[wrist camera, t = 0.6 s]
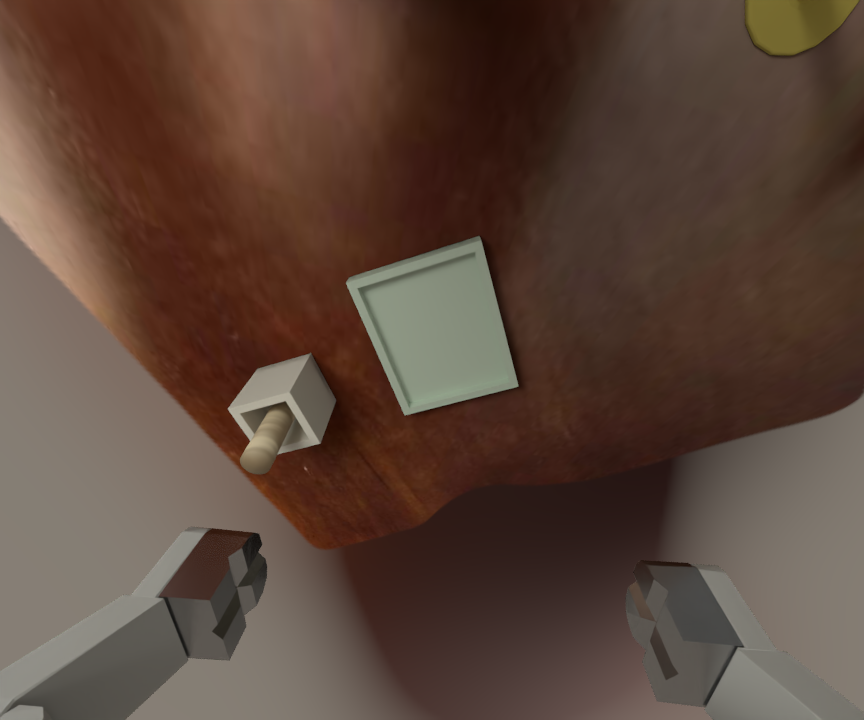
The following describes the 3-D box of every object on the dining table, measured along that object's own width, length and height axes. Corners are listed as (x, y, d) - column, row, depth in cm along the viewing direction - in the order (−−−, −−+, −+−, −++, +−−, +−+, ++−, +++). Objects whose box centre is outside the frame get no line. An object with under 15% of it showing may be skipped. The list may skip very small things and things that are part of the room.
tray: (349, 277, 48) (345, 283, 46) (479, 235, 45) (481, 240, 43) (405, 406, 57) (404, 415, 55) (516, 378, 55) (518, 386, 53)
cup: (257, 368, 54) (227, 409, 46) (311, 353, 53) (289, 392, 45) (285, 413, 58) (262, 458, 50) (336, 400, 57) (320, 443, 49)
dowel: (279, 382, 54) (234, 455, 42) (300, 376, 54) (261, 448, 41) (290, 400, 56) (250, 476, 43) (311, 395, 55) (276, 470, 43)
